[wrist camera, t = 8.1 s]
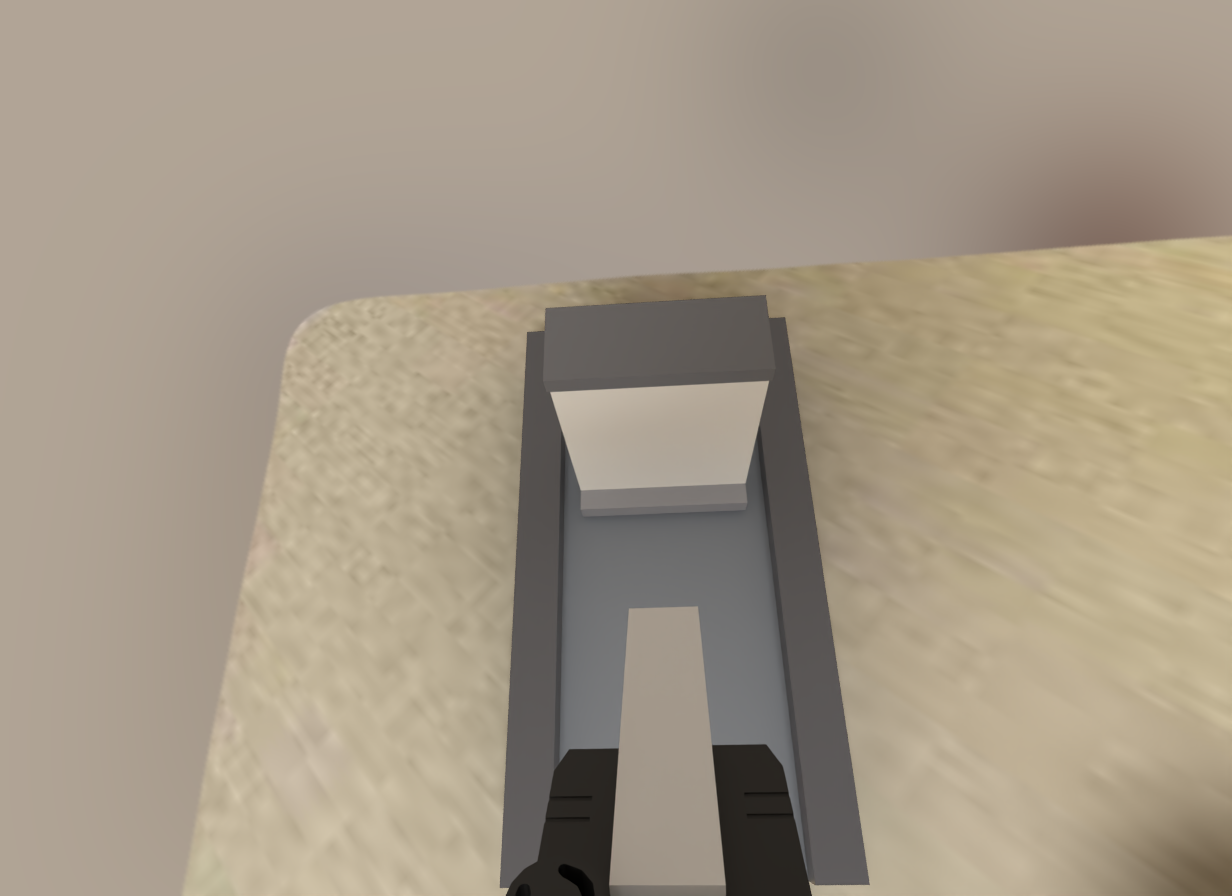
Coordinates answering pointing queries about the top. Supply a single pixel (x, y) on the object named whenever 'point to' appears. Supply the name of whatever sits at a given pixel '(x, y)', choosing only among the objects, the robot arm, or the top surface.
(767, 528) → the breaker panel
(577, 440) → the handle
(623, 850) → the robot arm
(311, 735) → the top surface
